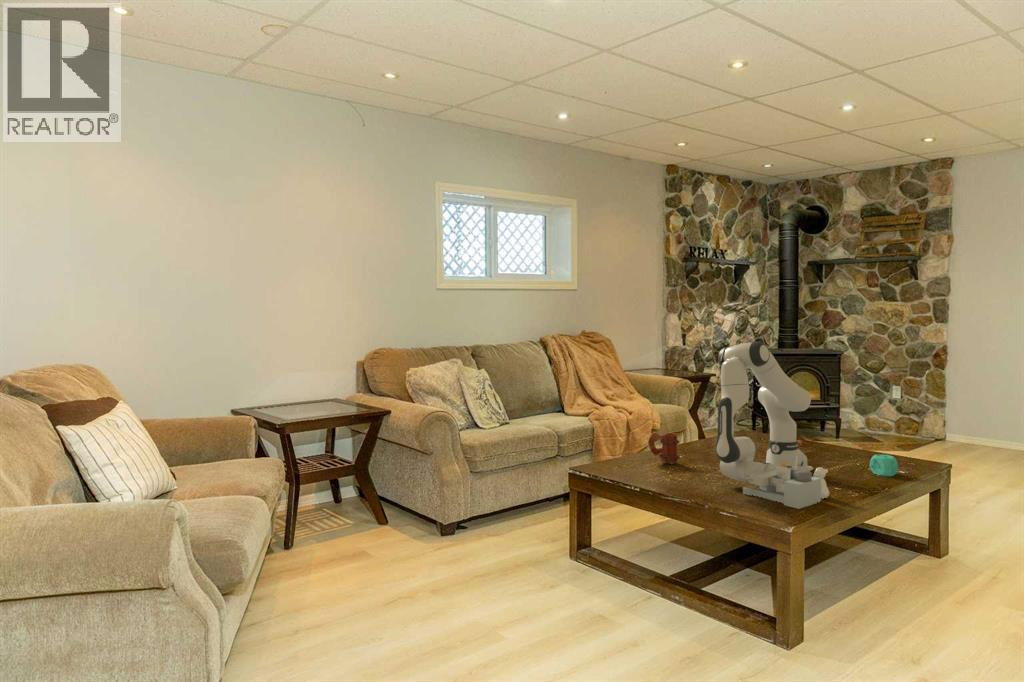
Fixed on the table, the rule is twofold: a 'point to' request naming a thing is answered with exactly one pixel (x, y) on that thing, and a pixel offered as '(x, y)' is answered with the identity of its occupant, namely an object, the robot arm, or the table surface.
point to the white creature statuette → (822, 481)
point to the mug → (665, 447)
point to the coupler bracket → (792, 490)
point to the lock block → (784, 475)
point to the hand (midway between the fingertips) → (789, 480)
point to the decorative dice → (883, 465)
